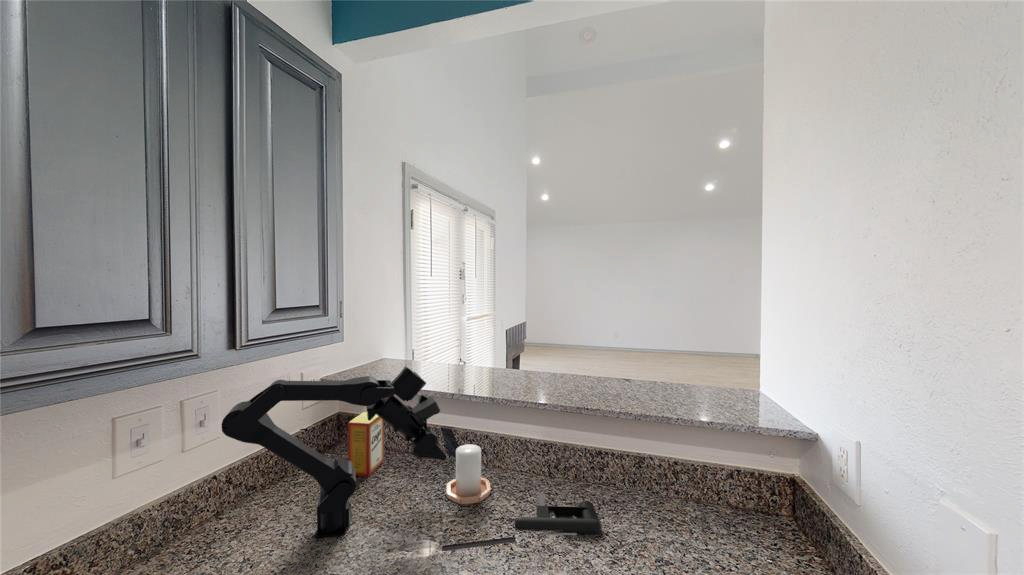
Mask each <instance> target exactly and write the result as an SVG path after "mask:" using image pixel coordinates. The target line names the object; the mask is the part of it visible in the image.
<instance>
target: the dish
mask: <svg viewBox="0 0 1024 575" xmlns="http://www.w3.org/2000/svg"><path fill="white" fill-rule="evenodd" d="M491 491H492V488H491V484H490V481H489V479H487V478H485V477H482V476H481V492H480V493H479V494H478V495H476V496H472V497H461V496H459V495H457V493H456V477H455V478H453V479H452V480H451V481H449V482H446V490H445V495H446V498H447V499H449V500H450V501H451V502H454V503H456V504H459V505H460V504H461V505H463V504H465V505H467V504H474V503H475V504H476V503H480V502H481V501H483V500H485V499H487V497H488V496H490V495H491V493H492V492H491Z"/></svg>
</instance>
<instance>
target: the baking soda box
mask: <svg viewBox="0 0 1024 575" xmlns="http://www.w3.org/2000/svg"><path fill="white" fill-rule="evenodd" d="M384 425H385V421H384V420H383V419H382V418H380V417H379V416H378V415H377V414H376V415H375V416H374V417H373V418H372V419H371V420H370V421H369V420H368V417H367V411H363V412H362V413H360V414H359V415H357V416H356V417H354V418H353V419H351V420H349V422H347V460H348V461H352V466H353V467H354V469H355V476H356V475H361V476H360V477H370V476H371V475H372V474H373V473H374V472H375V471H376V470H377V469H378V468H379V466H380V465H381V464H382V463H384V461H385V448H384V447H385V445H384V443H385V442H384V441H385V440H384V439H385V438H384V436H385V433H384V432H385V430H384V429H385V426H384ZM370 474H371V475H370Z"/></svg>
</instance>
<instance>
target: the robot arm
mask: <svg viewBox="0 0 1024 575" xmlns="http://www.w3.org/2000/svg"><path fill="white" fill-rule="evenodd" d="M426 385H427V382H426V380H424V379H423V377H421V376H420V375H419V374H418V373H417V372H416V371H413V370H412V369H410V368H409V367H408V366H404V367H403V369H402V370H401V371H400V373H399V374H398V375H396V377H395V378H394V379H393V380H390V379H377V378H376V377H374V376H372V375H365V376H358V377H353V378H349V379H346V380H339V381H338V380H337V381H336V380H333V381H332V380H285V379H277V380H275V381H273V382H272V383H271V384H270V385H269V386H267V387H266V388H265V389H263V390H262V391H260V392H259V393H257V394H256V395H254V396H253V397H252V398H251V399H249V400H247V401H245V400H244V401H241V402H239V403H237V404H236V405H234V406H233V407H231V409H230V410H229V412H228V413H227V414H226V415H225V416H224V417H223V419H222V421H221V431H222V433H223V435H225V436H226V437H227V438H231V439H234V440H235V441H238V442H241V443H245V444H251V445H252V444H253V445H258V446H260V447H262V448H265V449H266V450H267V451H270V452H271V453H272V454H274V455H275V456H278V457H279V458H280V459H281V460H284V461H286V462H287V463H289V464H290V465H292V466H293V467H295V468H297V469H299V470H300V471H302V472H303V473H305V474H307V475H309V477H312V478H313V479H314V480H315V481H316V482H317V484H318V485H319V487H320V489H319V495H318V496H319V498H318V504H317V506H316V531H315V534H314V538H315V539H320V538H327V537H337V536H338V537H339V536H344V535H345V534H346V533H347V529H348V528H349V527H350V525H351V523H352V522H351V521H352V517H353V515H352V513H353V511H352V510H353V509H352V508H353V507H352V503H351V502H350V498H351V497H352V495H354V492H355V491H356V488H357V479H356V477H357V476H356V475H355V469H354V467H353V466H352V461H348V459H345V458H344V457H343V456H342V454H337V456H336V458H328V457H326V456H325V455H323V454H322V453H320V452H318V451H317V450H315V449H313V448H312V447H310V446H308V445H307V444H306V443H305V442H303V441H301V440H299V439H297V438H296V437H294V436H293V435H291V434H290V433H288V432H287V431H286V430H284V429H282V428H281V427H279V426H278V425H276V424H275V423H274V421H273V420H272V418H271V417H270V415H269V414H268V412H269V411H271V410H272V409H273V408H274V407H275V406H276V405H278V404H279V403H280V402H290V401H291V402H292V401H293V402H303V401H304V402H307V401H311V402H312V401H314V402H315V401H316V402H317V401H318V402H319V401H322V402H325V401H340V402H345V403H347V404H350V405H353V406H363V407H366V412H367V417H368V420H369V421H370V420H371V419H372V418H373V417H374V416H375V415H376V414H377V415H378V416H379V417H380V418H382V419H383V420H384V423H387V425H389V427H391V428H392V431H394V432H395V433H397V432H398V433H399V434H400V435H402V436H403V438H404V440H405V441H406V442H408V443H409V442H411V443H410V450H411V453H412V455H413V457H415V458H416V459H418V460H421V459H424V458H425V459H435V460H439V461H441V460H442V461H445V460H446V459H447V458H448V456H447V454H446V453H445V452H444V450H443V449H442V448H441V447H440V445H439V441H438V439H439V438H438V436H437V433H435V432H434V430H432V429H431V428H430V427H428V419H430V418H431V417H433V416H435V415H438V414H439V413H440V412H441V408H440V407H439V405H438V403H437V401H436V399H435V398H434V396H431V395H429V396H426V395H425V394H421V395H419V396H418V402H417V403H416V405H415V406H414V407H412V406H410V404H409V405H406V404H405V403H403V402H409V401H410V402H411V401H412V400H413V399H414V398H415V397H416V396H417V395H418V393H419V392H420V391H421V390H422V389H423V388H424V387H425V386H426ZM395 395H396V396H397V397H398V398H397V397H396V396H395ZM401 400H402V401H403V402H402V401H401ZM412 439H413V440H412ZM411 440H412V441H411Z"/></svg>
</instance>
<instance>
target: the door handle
mask: <svg viewBox="0 0 1024 575" xmlns="http://www.w3.org/2000/svg"><path fill="white" fill-rule="evenodd" d="M537 496H538V497H537V498H538V505H536V516H518V517H515V518H514V528H515V529H519V530H520V531H522V530H542V531H543V530H544V531H545V530H546V531H547V530H549V531H551V532H544V533H543V532H541V533H540V535H553V536H555V535H556V536H577V535H578V534H579V535H590V536H592V535H599V534H600V532H601V531H602V525H601V522H600V521H599V519H598V515H597V513H596V510H595V506H594V503H593V502H592V501H589V500H582V501H580V502H579V503H578V506H563V505H562V506H559V505H558V506H556V505H546V498H545V493H544V492H538V493H537ZM550 512H553V514H554V516H555V517H550ZM569 516H571V517H570V518H569Z"/></svg>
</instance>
